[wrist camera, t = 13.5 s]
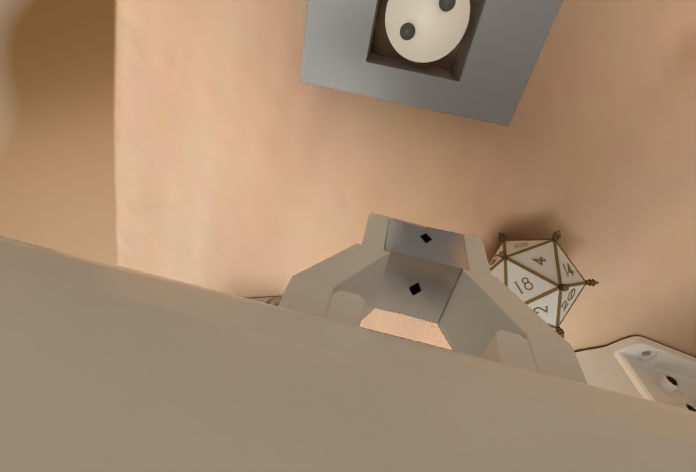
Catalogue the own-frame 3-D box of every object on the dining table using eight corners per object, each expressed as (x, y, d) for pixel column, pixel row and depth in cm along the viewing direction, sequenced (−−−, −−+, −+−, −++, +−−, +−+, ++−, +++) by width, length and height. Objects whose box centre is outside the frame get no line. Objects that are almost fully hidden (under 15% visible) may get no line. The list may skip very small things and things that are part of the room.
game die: (509, 215, 36) (580, 202, 26) (559, 283, 36) (650, 297, 26) (438, 270, 35) (485, 278, 25) (491, 339, 36) (557, 375, 26)
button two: (472, -23, 23) (483, -25, 20) (447, 61, 25) (453, 70, 22) (396, -39, 23) (396, -44, 20) (379, 46, 25) (377, 54, 22)
